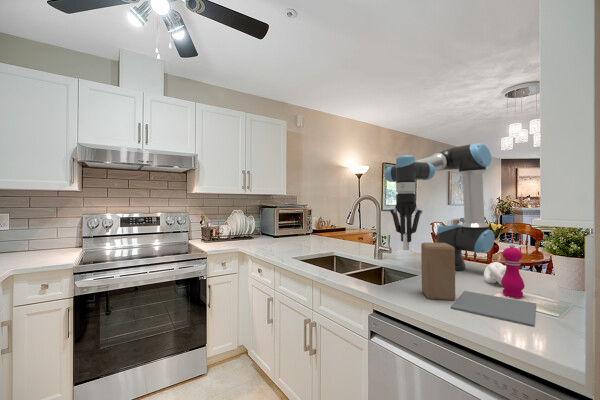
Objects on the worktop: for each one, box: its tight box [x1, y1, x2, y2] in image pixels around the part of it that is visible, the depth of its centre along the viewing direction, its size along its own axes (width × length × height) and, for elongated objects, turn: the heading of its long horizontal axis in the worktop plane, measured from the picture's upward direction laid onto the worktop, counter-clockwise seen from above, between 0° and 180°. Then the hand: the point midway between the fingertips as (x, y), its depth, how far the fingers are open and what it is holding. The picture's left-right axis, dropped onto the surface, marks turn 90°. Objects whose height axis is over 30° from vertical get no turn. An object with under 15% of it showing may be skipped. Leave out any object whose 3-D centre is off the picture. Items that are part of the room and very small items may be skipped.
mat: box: [450, 290, 537, 328], centre depth 97 cm, size 22×22×1 cm
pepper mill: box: [501, 243, 525, 299], centre depth 108 cm, size 7×7×20 cm
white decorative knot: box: [483, 261, 506, 287], centre depth 123 cm, size 11×12×9 cm
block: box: [420, 242, 456, 301], centre depth 109 cm, size 10×10×20 cm
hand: (406, 249), depth 117 cm, fingers closed
